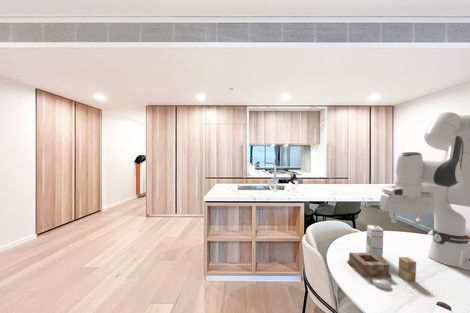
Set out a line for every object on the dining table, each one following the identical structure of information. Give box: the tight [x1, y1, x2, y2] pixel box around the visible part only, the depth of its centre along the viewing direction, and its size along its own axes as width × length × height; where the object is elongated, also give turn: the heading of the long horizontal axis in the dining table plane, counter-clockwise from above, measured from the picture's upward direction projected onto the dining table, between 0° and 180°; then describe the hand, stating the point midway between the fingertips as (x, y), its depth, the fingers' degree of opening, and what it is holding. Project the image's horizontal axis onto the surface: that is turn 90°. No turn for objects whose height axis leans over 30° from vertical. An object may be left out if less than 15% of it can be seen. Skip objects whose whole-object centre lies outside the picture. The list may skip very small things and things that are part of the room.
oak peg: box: [397, 256, 417, 282], centre depth 92 cm, size 4×4×8 cm
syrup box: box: [365, 224, 384, 259], centre depth 112 cm, size 6×6×14 cm
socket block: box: [347, 252, 392, 278], centre depth 98 cm, size 12×12×5 cm
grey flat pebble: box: [371, 277, 391, 290], centre depth 87 cm, size 6×6×2 cm
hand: (405, 223), depth 93 cm, fingers open, 8 cm apart
